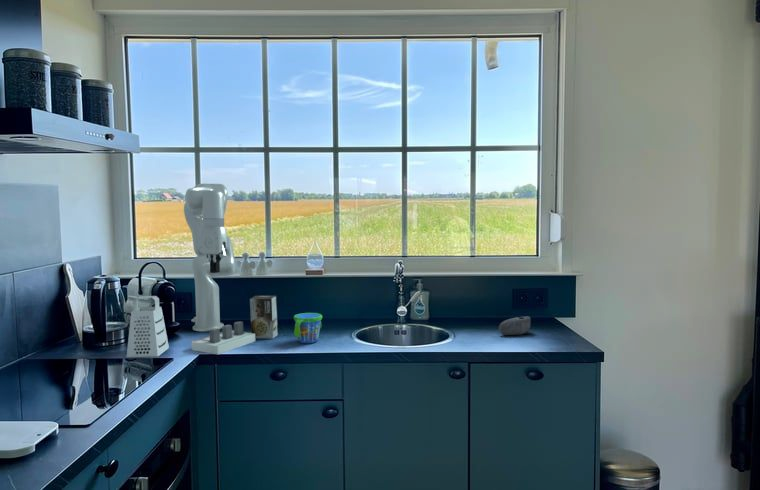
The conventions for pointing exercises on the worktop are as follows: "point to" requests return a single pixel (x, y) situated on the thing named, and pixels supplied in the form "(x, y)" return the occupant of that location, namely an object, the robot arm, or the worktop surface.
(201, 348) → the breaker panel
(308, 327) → the snack cup
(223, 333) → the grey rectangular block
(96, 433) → the worktop surface
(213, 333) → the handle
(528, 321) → the perforated stone tool
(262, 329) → the coffee box
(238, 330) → the gray rectangular block
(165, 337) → the grater
